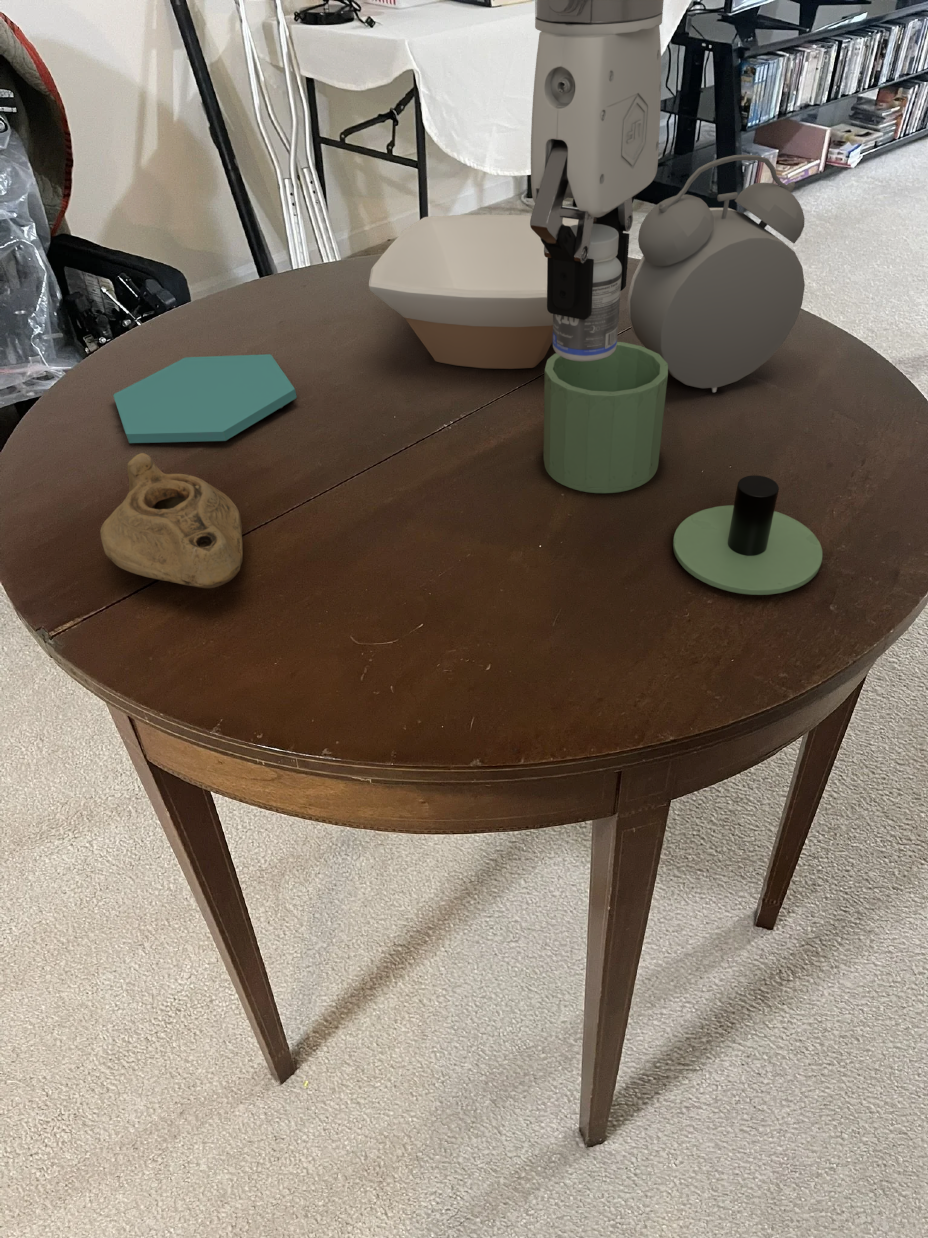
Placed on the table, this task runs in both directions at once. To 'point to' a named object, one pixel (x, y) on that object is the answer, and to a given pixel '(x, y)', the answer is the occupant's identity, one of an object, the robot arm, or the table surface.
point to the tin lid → (748, 544)
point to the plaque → (203, 399)
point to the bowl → (471, 288)
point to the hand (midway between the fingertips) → (587, 298)
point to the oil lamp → (174, 528)
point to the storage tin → (604, 419)
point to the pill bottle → (594, 304)
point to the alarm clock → (718, 280)
